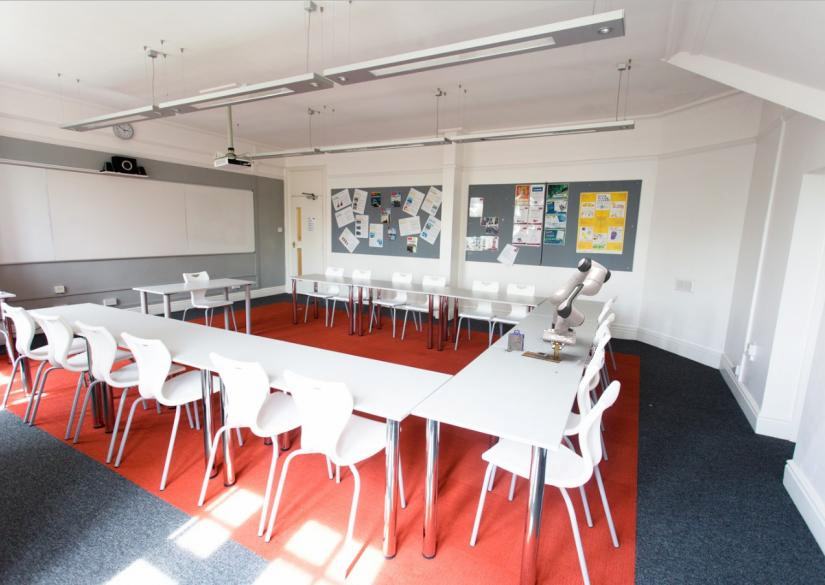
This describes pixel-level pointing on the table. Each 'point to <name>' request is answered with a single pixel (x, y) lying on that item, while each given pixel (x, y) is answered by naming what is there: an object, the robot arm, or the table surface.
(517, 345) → the ink cartridge box
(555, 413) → the table surface
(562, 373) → the table surface
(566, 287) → the robot arm
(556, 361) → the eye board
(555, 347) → the brass copper-topped peg
